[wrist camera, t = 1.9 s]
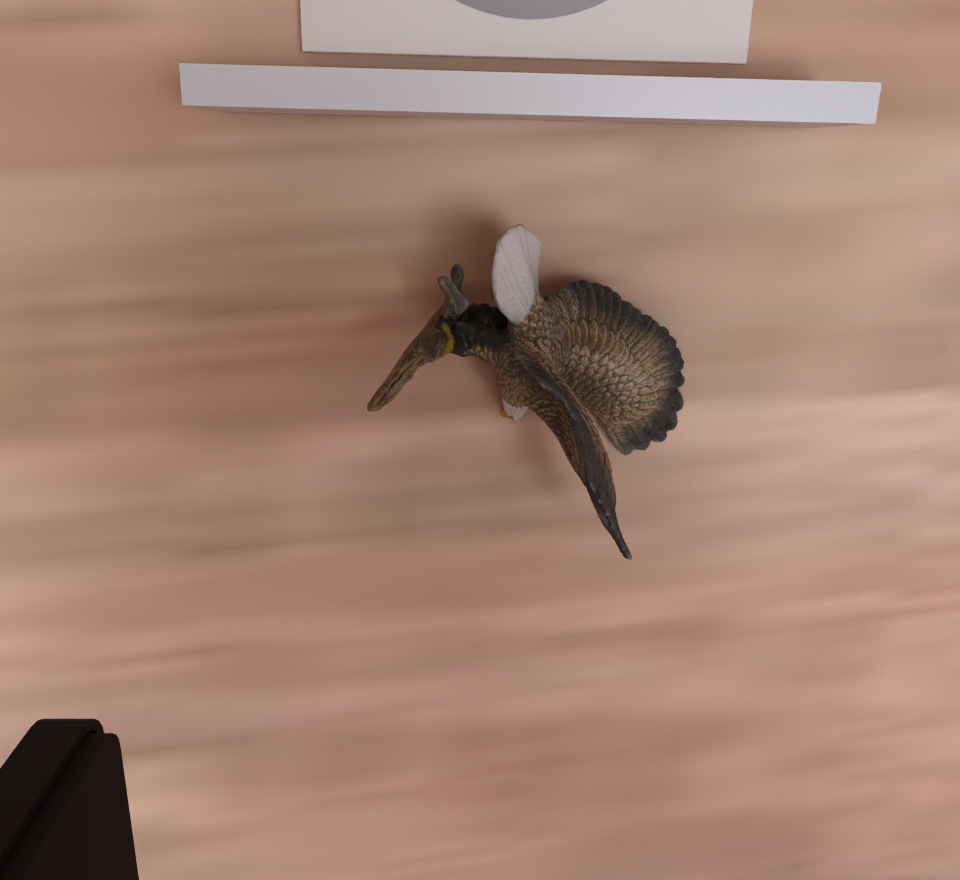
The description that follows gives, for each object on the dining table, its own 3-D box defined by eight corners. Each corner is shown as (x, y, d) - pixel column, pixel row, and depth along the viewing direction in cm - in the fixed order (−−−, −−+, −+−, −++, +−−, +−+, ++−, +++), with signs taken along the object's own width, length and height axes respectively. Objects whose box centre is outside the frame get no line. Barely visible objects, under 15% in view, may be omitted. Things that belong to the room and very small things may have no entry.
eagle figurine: (361, 444, 29) (600, 584, 28) (364, 369, 22) (678, 552, 22) (475, 266, 31) (696, 395, 31) (510, 148, 24) (795, 312, 24)
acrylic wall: (821, 91, 26) (881, 82, 23) (816, 127, 27) (875, 123, 23) (220, 75, 26) (178, 63, 22) (222, 111, 26) (182, 105, 22)
